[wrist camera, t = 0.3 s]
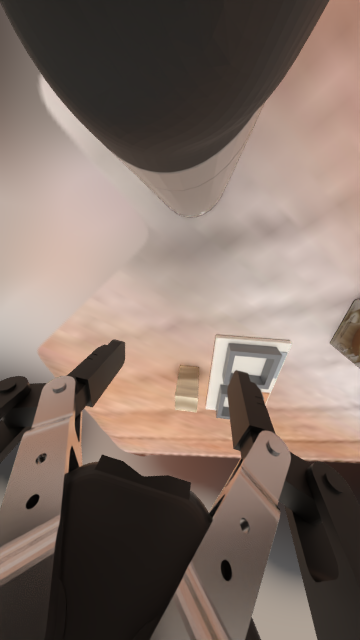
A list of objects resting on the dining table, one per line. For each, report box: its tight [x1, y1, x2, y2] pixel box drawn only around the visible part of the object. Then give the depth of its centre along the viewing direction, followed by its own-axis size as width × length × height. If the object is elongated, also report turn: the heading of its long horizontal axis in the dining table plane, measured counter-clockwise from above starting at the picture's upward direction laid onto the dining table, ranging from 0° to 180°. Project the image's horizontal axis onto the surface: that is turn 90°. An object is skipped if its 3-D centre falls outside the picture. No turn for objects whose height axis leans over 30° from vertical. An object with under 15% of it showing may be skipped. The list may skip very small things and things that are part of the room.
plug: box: [175, 365, 199, 412], centre depth 34 cm, size 4×4×8 cm
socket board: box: [206, 335, 292, 419], centre depth 34 cm, size 23×14×4 cm, turn 179°
